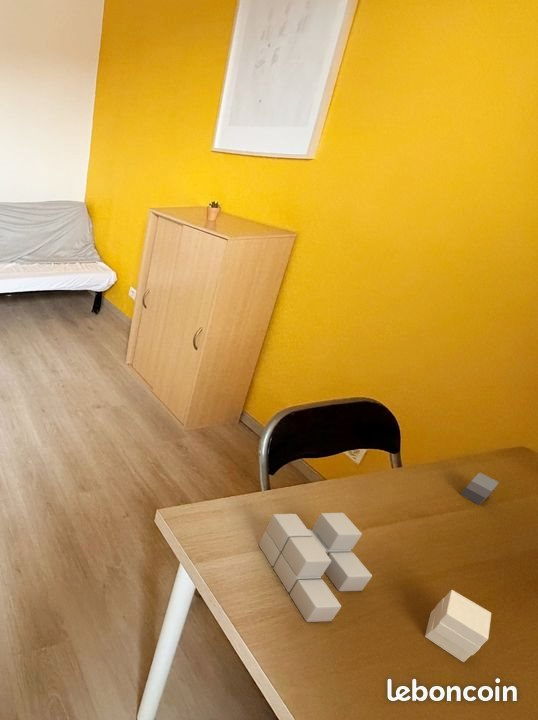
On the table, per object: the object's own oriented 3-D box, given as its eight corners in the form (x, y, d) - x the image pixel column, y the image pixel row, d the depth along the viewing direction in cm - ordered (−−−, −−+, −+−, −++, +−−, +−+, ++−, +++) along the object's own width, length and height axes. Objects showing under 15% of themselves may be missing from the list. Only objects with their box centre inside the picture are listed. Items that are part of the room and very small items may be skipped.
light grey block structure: (306, 622, 60) (327, 590, 56) (257, 544, 71) (273, 513, 67) (384, 619, 61) (410, 588, 57) (325, 543, 71) (343, 512, 68)
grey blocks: (468, 486, 83) (479, 471, 81) (489, 497, 81) (501, 483, 79) (458, 494, 81) (469, 479, 80) (479, 506, 79) (491, 491, 77)
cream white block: (444, 597, 60) (451, 589, 59) (483, 620, 57) (491, 612, 56) (438, 621, 57) (446, 613, 56) (480, 647, 54) (488, 639, 53)
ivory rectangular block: (429, 612, 62) (443, 596, 60) (468, 636, 59) (484, 621, 57) (423, 637, 59) (437, 621, 57) (464, 664, 56) (480, 648, 54)
